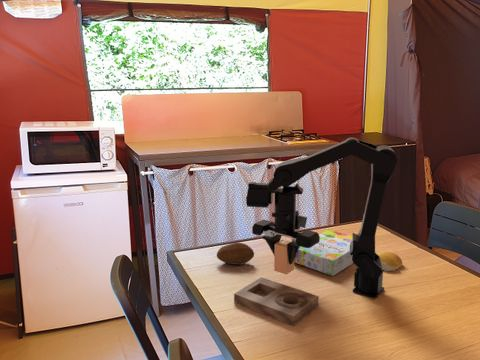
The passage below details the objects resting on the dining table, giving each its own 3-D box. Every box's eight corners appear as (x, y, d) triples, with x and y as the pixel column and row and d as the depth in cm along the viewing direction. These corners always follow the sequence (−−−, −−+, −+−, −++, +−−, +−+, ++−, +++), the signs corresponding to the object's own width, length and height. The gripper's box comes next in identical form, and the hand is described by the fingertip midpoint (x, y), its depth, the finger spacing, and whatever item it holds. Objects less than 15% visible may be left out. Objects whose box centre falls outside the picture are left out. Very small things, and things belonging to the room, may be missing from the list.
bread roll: (405, 264, 138) (406, 252, 137) (392, 274, 132) (393, 262, 131) (380, 257, 144) (381, 245, 143) (366, 266, 138) (367, 254, 137)
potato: (216, 260, 143) (215, 239, 141) (252, 258, 144) (252, 237, 142) (217, 269, 136) (216, 247, 135) (255, 267, 138) (255, 246, 136)
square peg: (294, 269, 126) (294, 242, 124) (286, 274, 123) (286, 247, 121) (282, 265, 129) (282, 239, 127) (274, 270, 126) (274, 243, 124)
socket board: (318, 305, 115) (318, 296, 114) (293, 325, 106) (293, 316, 105) (261, 285, 126) (261, 277, 125) (234, 302, 117) (234, 293, 116)
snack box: (291, 263, 140) (333, 277, 130) (291, 246, 139) (333, 259, 129) (328, 244, 155) (368, 254, 145) (328, 228, 154) (369, 238, 144)
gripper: (330, 207, 122) (328, 260, 126) (273, 196, 133) (273, 245, 137) (309, 218, 114) (308, 274, 117) (250, 205, 125) (251, 257, 129)
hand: (284, 261), depth 125 cm, fingers closed on square peg, 4 cm apart
